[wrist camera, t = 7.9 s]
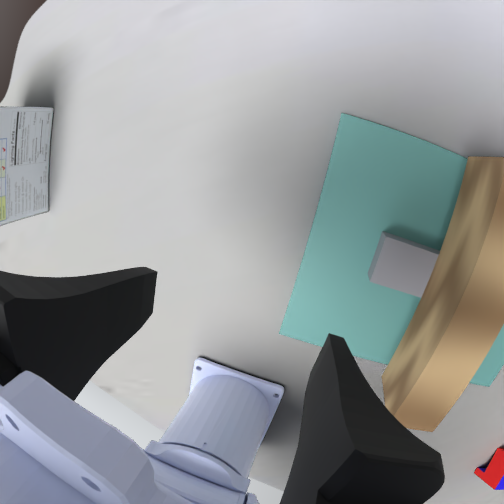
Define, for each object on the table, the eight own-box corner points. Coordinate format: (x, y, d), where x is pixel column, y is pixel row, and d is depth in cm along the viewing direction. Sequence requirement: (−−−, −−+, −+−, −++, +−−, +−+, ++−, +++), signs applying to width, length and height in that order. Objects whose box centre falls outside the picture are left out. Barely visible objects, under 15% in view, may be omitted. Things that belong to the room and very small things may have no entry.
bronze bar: (420, 385, 20) (432, 431, 15) (381, 376, 20) (387, 424, 15) (509, 177, 14) (553, 185, 10) (468, 156, 15) (507, 157, 10)
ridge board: (487, 384, 20) (494, 397, 18) (279, 331, 23) (274, 345, 21) (564, 214, 15) (578, 219, 13) (341, 113, 18) (342, 108, 16)
